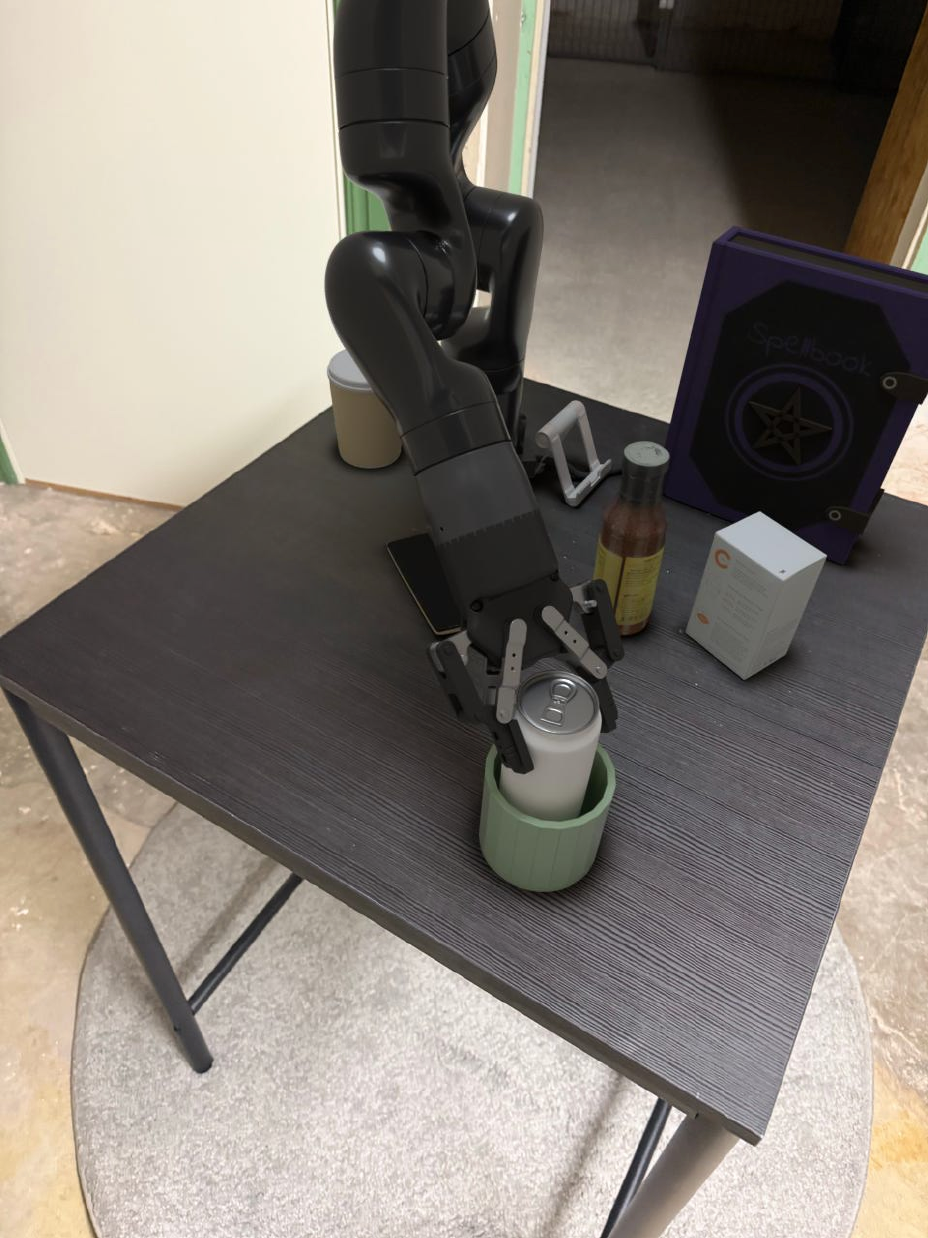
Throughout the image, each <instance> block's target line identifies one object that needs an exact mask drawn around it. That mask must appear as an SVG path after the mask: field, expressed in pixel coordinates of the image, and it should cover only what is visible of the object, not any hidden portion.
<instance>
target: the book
mask: <svg viewBox="0 0 928 1238" xmlns="http://www.w3.org/2000/svg"><path fill="white" fill-rule="evenodd" d="M695 311H696V312H695V315H694V320H693V324H692V328H691V332H690V337H689V340H688V345H687V349H686V353H685V357H684V361H683V367H682V370H681V375H680V379H679V383H678V387H677V392H676V394H675V395H676V396H675V400H674V405H673V407H672V413H671V417H670V421H669V425H668V428H667V433H666V438H665V442H664V446H663V448H665V449H666V450H667V451H668V453H669V455H670V459H669V467H668V470H667V472H666V473H665V475H664V480H663V486H662V495H665V496H666V497H667V498H670V499H672V500H675V501H677V502H679V503H682V504H685V505H688V506H690V507H693V508H695V509H698V510H700V511H703V512H705V513H707V514H710V515H713V516H715V517H719V518H721V519H723V520H726V521H729V522H731V523H732V524H735V523H737V522H739V521H741V520H743V519H745V518H747V517H749V516H751V515H753V514H755V513H757V512H762V513H763V514H765V515H766V516H767V517H769V518H771V519H772V520H774V521H775V522H777V523H778V524H780V525H781V526H783V527H784V528H786V529H787V530H789V531H790V532H792V533H793V534H795V535H796V536H798V537H799V538H801V539H803V540H804V541H806V542H807V543H809V544H810V545H812V546H813V547H815V548H816V549H818V550H819V551H821V552H822V553H824V554H826V555H827V557H826V560H829V561H831V562H834V563H836V564H838V565H842V566H844V565H845V563H846V561H847V559H848V556H849V554H850V552H851V550H852V548H853V547H854V546H853V545H856V543H857V540H858V539H859V536H863V534H864V532H865V530H866V528H867V526H868V525H869V523H870V521H871V519H872V517H873V515H874V514H875V511H876V510H877V508H878V506H879V504H880V503H881V499H882V498H883V495H884V493H885V491H886V489H885V488H882V486H883V484H884V481H885V479H886V478H887V475H888V473H889V471H890V469H891V466H892V464H893V463H894V460H895V457H896V455H897V454H898V451H899V450H900V447H901V445H902V442H903V440H904V438H905V437H906V433H907V432H908V429H909V427H910V425H911V422H912V420H913V418H914V417H915V414H916V412H917V410H918V408H919V406H922V405H923V404H924V402H925V400H926V398H927V397H928V274H927V273H923V272H918V271H914V270H911V269H907V268H903V267H898V266H895V265H891V264H887V263H884V262H883V263H882V262H879V261H875V260H871V259H868V258H863V257H860V256H855V255H852V254H848V253H843V252H839V251H836V250H832V249H828V248H824V247H821V246H816V245H812V244H808V243H805V242H800V241H797V240H793V239H789V238H786V237H785V238H784V237H781V236H777V235H773V234H769V233H765V232H761V231H758V230H754V229H750V228H743V227H741V226H738V225H732V226H731V227H729V229H727V230H726V231H725V232H724V233H722V235H719V237H717V238H716V239H715V240H713V241H712V244H711V247H710V252H709V256H708V261H707V265H706V269H705V273H704V277H703V280H702V285H701V289H700V293H699V298H698V302H697V306H696V310H695Z"/></svg>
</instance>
